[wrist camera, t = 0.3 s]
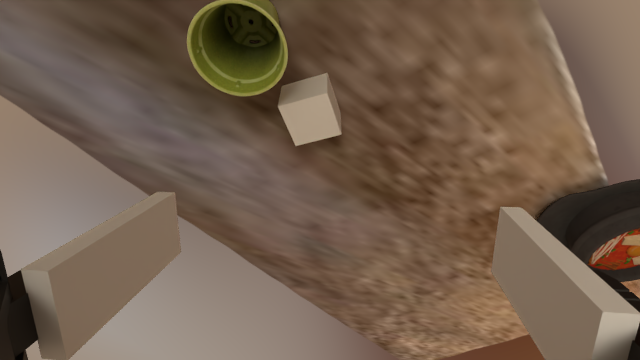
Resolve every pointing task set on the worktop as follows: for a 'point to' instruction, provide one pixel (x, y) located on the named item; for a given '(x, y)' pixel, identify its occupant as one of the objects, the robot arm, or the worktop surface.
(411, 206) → the worktop surface
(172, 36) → the worktop surface
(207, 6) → the plant pot
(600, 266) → the casserole
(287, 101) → the grey block
